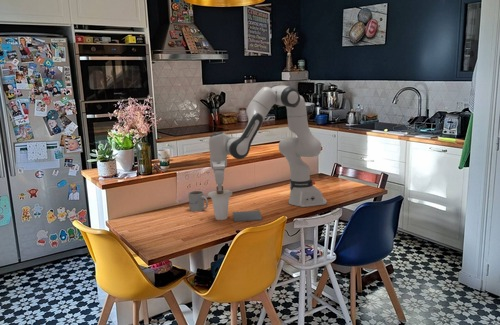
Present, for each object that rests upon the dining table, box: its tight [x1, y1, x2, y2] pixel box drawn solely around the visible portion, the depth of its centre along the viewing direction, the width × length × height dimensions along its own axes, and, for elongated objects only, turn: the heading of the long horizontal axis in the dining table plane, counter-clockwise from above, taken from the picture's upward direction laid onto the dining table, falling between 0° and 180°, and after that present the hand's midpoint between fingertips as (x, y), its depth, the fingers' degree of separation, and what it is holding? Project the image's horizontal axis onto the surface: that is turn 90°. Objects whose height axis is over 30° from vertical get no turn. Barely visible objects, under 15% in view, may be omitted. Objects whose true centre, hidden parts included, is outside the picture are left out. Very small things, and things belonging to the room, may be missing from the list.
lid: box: [207, 185, 233, 199], centre depth 229 cm, size 13×13×4 cm
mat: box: [232, 210, 263, 223], centre depth 233 cm, size 15×15×1 cm
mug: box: [188, 190, 209, 213], centre depth 247 cm, size 12×9×10 cm
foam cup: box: [211, 197, 230, 221], centre depth 231 cm, size 10×9×13 cm
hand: (219, 188), depth 229 cm, fingers open, 8 cm apart
